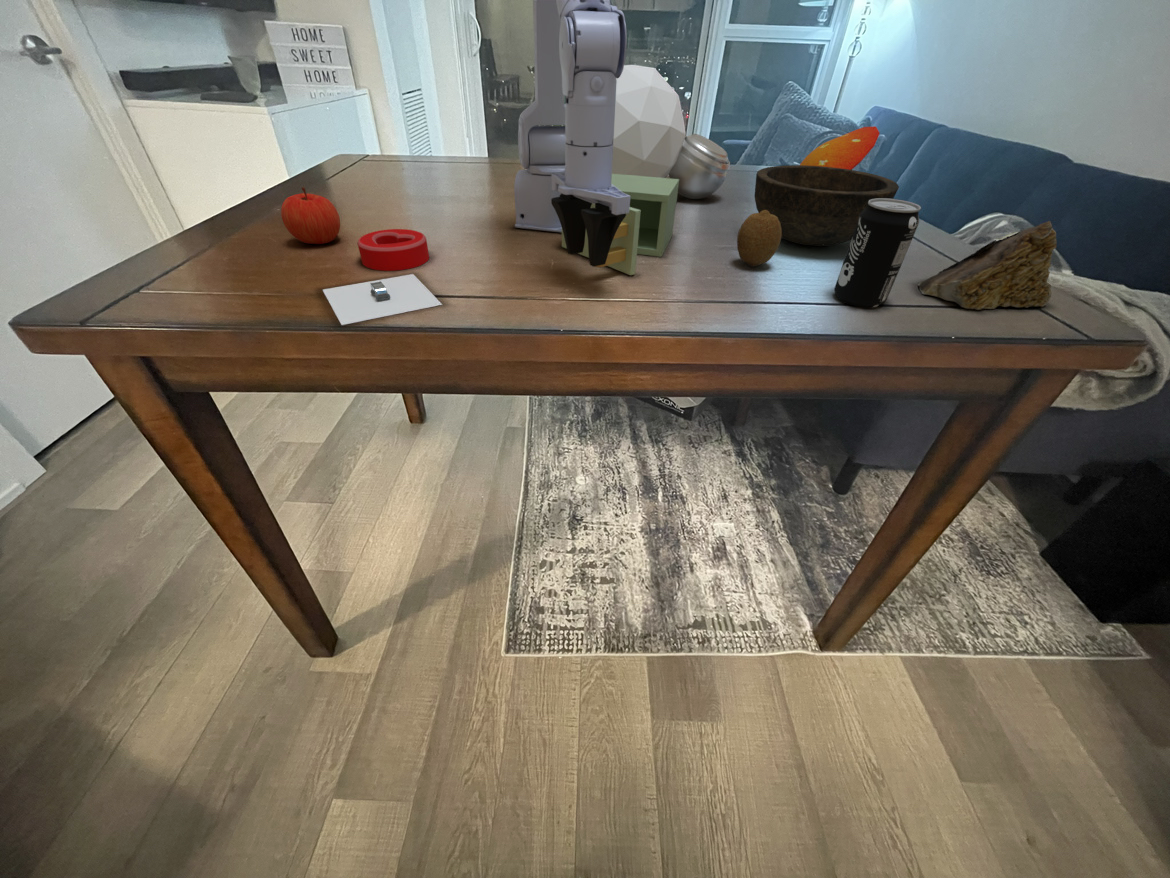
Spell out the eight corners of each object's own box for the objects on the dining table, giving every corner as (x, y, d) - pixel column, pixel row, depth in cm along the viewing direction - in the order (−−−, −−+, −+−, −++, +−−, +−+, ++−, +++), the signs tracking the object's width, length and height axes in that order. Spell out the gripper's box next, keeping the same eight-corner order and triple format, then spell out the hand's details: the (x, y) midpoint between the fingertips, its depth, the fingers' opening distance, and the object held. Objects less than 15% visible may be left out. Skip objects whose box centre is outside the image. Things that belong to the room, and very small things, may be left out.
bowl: (874, 234, 92) (897, 173, 85) (874, 271, 76) (901, 201, 70) (754, 217, 99) (767, 160, 92) (731, 249, 83) (745, 182, 77)
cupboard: (661, 257, 79) (669, 195, 73) (565, 245, 82) (565, 185, 77) (672, 235, 88) (679, 179, 83) (585, 226, 91) (586, 171, 86)
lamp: (557, 153, 117) (598, 28, 100) (689, 214, 124) (746, 107, 108) (545, 187, 100) (591, 46, 84) (697, 255, 108) (767, 138, 92)
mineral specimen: (891, 260, 72) (995, 195, 69) (909, 331, 79) (1004, 274, 76) (953, 287, 62) (1078, 211, 59) (967, 364, 69) (1079, 301, 66)
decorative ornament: (354, 270, 71) (348, 248, 69) (372, 248, 79) (367, 227, 77) (422, 270, 72) (418, 248, 70) (434, 249, 79) (430, 228, 77)
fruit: (723, 261, 78) (734, 206, 73) (756, 256, 80) (768, 203, 75) (748, 274, 74) (762, 217, 69) (782, 269, 76) (797, 213, 71)
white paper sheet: (341, 325, 58) (337, 312, 57) (322, 289, 65) (318, 278, 65) (442, 304, 63) (440, 293, 62) (413, 274, 71) (411, 263, 70)
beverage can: (823, 290, 70) (854, 197, 62) (868, 289, 70) (904, 197, 63) (846, 309, 65) (883, 211, 57) (894, 309, 65) (937, 211, 58)
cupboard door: (603, 283, 69) (606, 217, 64) (535, 253, 78) (532, 192, 73) (635, 274, 72) (641, 210, 67) (566, 245, 82) (566, 187, 76)
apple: (282, 241, 80) (264, 186, 75) (331, 231, 85) (317, 179, 80) (304, 253, 76) (286, 196, 71) (354, 242, 81) (340, 188, 76)
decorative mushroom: (834, 197, 114) (858, 120, 105) (866, 222, 98) (897, 134, 89) (768, 194, 115) (786, 117, 106) (789, 218, 99) (812, 130, 89)
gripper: (529, 137, 62) (534, 248, 71) (597, 155, 53) (592, 281, 61) (577, 133, 65) (575, 240, 74) (648, 151, 56) (637, 270, 65)
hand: (586, 258), depth 68 cm, fingers open, 5 cm apart
